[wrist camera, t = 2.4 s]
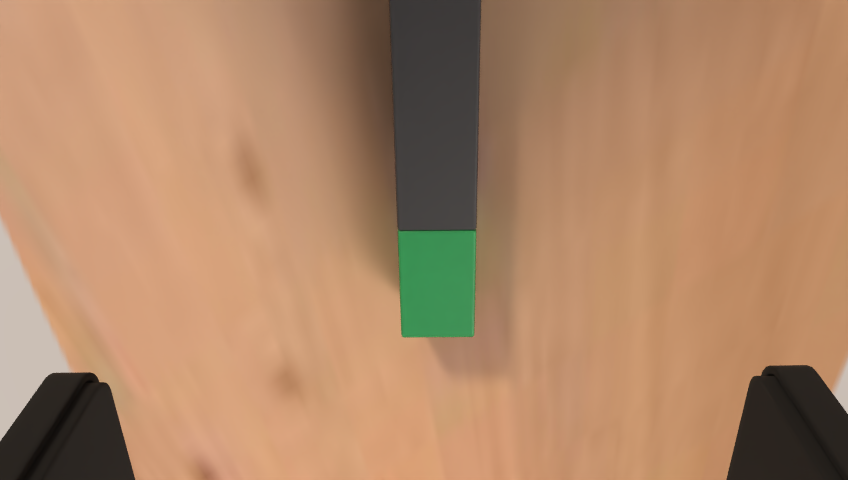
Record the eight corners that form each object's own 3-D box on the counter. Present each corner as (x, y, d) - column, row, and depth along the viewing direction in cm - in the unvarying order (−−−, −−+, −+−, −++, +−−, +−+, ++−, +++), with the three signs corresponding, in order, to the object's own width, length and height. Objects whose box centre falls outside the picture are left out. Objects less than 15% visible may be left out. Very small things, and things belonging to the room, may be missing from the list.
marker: (388, -141, 20) (383, -137, 18) (479, -142, 20) (483, -139, 18) (404, 298, 27) (401, 338, 25) (470, 297, 27) (474, 338, 25)
